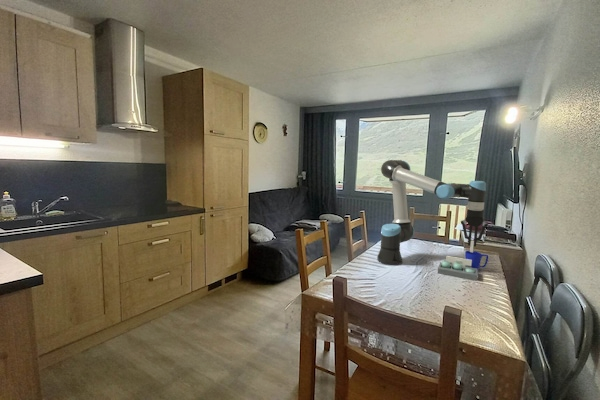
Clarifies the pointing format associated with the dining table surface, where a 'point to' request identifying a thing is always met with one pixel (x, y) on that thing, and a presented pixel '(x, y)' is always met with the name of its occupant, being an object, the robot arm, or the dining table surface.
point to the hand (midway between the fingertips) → (471, 251)
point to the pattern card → (459, 261)
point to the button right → (469, 270)
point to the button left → (445, 264)
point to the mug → (475, 258)
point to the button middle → (457, 266)
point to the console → (458, 272)
